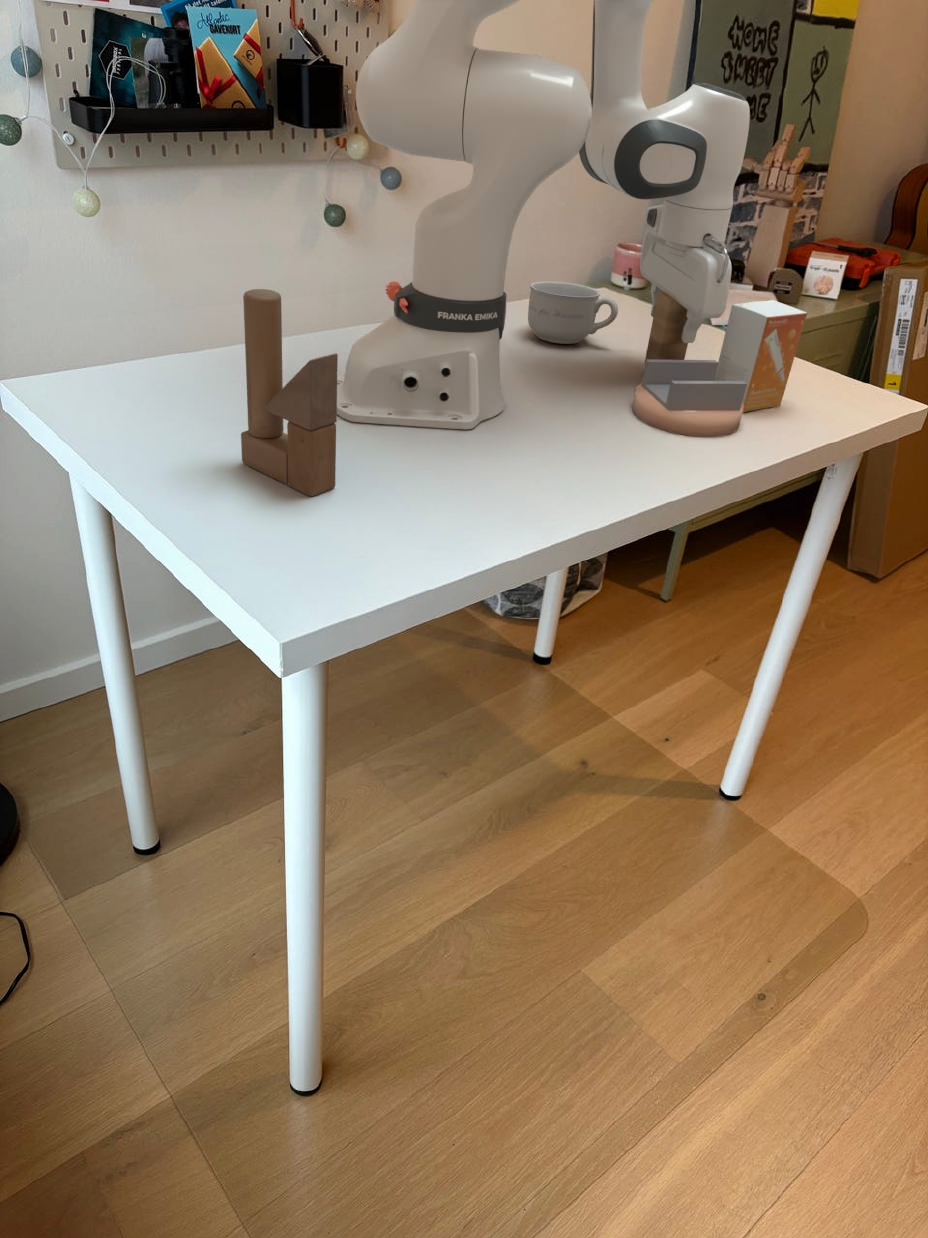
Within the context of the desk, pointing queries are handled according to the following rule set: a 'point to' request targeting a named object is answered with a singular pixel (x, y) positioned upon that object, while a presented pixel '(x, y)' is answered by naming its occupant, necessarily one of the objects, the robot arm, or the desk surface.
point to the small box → (760, 350)
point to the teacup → (566, 311)
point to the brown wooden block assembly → (287, 404)
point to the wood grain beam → (667, 330)
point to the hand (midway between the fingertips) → (671, 329)
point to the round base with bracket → (688, 398)
